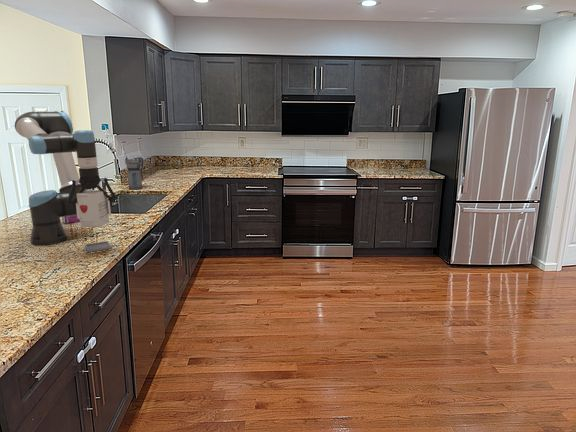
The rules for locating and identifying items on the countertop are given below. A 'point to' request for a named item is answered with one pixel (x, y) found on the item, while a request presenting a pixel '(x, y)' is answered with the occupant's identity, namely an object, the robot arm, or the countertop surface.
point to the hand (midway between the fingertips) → (94, 216)
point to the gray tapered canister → (134, 173)
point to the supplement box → (92, 208)
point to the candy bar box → (70, 219)
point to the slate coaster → (97, 246)
